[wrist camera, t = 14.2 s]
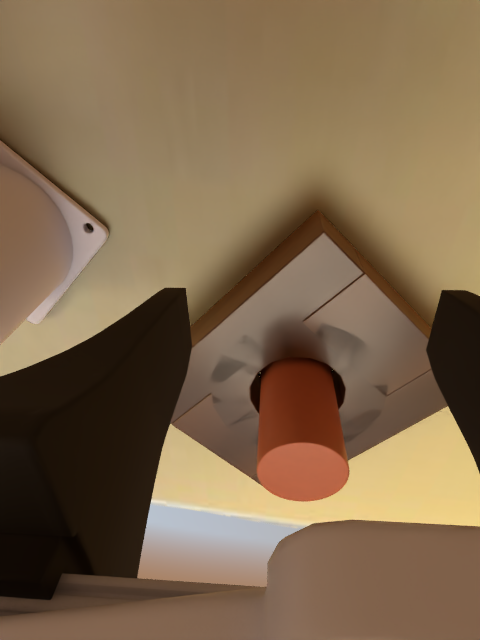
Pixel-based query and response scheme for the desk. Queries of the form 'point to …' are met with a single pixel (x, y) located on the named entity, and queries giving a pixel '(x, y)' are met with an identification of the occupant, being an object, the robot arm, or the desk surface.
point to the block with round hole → (308, 347)
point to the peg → (300, 431)
